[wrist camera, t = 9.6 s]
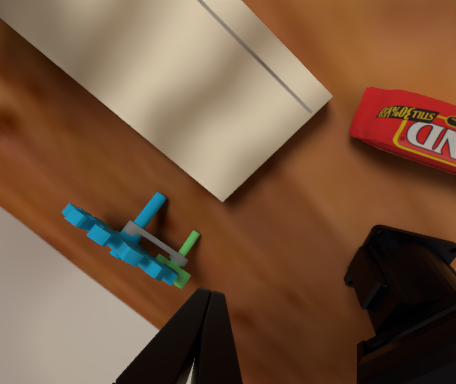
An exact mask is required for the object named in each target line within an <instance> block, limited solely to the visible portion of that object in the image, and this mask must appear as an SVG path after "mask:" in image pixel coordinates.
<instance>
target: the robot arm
mask: <svg viewBox="0 0 456 384" xmlns="http://www.w3.org/2000/svg"><path fill="white" fill-rule="evenodd" d="M379 230H382V231H381V232H379V233H377V232H378V231H379ZM451 248H453V249H451ZM450 249H451V250H450ZM455 257H456V243H454V242H451V241H447V240H442V239H438V238H434V237H430V236H426V235H422V234H417V233H413V232H409V231H405V230H401V229H397V228H393V227H388V226H384V225H376V226H374V227H373V228H372V230H371V232H370V233H369V235H368V237H367V239H366V240H365V242H364V244H363V246H361V247H360V248H359V250H358V251H357V253H356V255H355V257H354V258H353V260H352V262H351V264H350V266H349V267H348V272H347V274H346V276H345V277H344V281H345V284H346V285H347V286H349V287H353V288H355V291H356V294H357V297H358V300H359V303H360V306H361V307H362V309H363V310H366V311H367V312H368V315H369V317H370V320H371V323H372V326H373V329H374V331H375V334H376V336H374V337H372V338H371V339H369V340H367V341H362V342H360V343H358V344H357V384H456V271H455V270H454V269H453V268H452V267H451V265H450V264H451V262H452V261H453V260H454V259H455ZM350 280H352V281H350ZM194 359H195V361H194ZM193 363H194V366H193ZM192 366H193V372H192V378H191V384H243V382H242V377H241V372H240V367H239V362H238V358H237V353H236V348H235V343H234V338H233V333H232V328H231V323H230V318H229V313H228V308H227V304H226V299H225V295H224V294H223V293H220V292H217V291H212V292H211V291H210V290H209V289H205V288H201V287H200V288H198V289H197V290H196V291H195V292H194V293H193V294H192V295H191V297H190V298H189V299H188V300H187V301H186V302H185V303H184V304H183V305H182V307H181V308H180V309H179V310H178V311H177V312H176V313H175V314H174V315H173V317H172V318H171V319H170V320H169V321H168V322H167V323H166V324H165V326H164V327H163V328H162V329H161V330H160V331H159V332H158V334H156V336H155V337H154V338H153V339H152V340H151V341H150V342H149V343H148V345H147V346H146V347H145V348H144V349H143V350H142V351H141V352H140V354H139V355H138V356H137V357H136V358H135V359H134V360H133V361H132V362H131V363H130V365H129V366H128V367H127V368H126V369H125V370H124V371H123V372H122V374H121V375H120V376H119V377H118V378H117V379H116V383H112V384H186V382H187V380H188V377H189V374H190V371H191V368H192Z"/></svg>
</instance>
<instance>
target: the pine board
mask: <svg viewBox="0 0 456 384" xmlns="http://www.w3.org/2000/svg"><path fill="white" fill-rule="evenodd" d="M0 18H1V19H2V20H3V21H4V22H6V23H7V24H8V25H9V26H10V27H12V28H13V29H14V30H15V31H16V32H18V33H19V34H20V35H21V36H22V37H24V38H25V39H26V40H27V41H28V42H30V43H31V44H32V45H33V46H35V47H36V48H37V49H38V50H39V51H41V52H42V53H43V54H44V55H45V56H47V57H48V58H49V59H50V60H51V61H53V62H54V63H55V64H56V65H57V66H59V67H60V68H61V69H62V70H64V71H65V72H66V73H67V74H68V75H70V76H71V77H72V78H73V79H74V80H76V81H77V82H78V83H79V84H80V85H82V86H83V87H84V88H85V89H86V90H88V91H89V92H90V93H91V94H92V95H94V96H95V97H96V98H97V99H99V100H100V101H101V102H102V103H103V104H105V105H106V106H107V107H108V108H109V109H111V110H112V111H113V112H114V113H115V114H117V115H118V116H119V117H120V118H121V119H123V120H124V121H125V122H126V123H127V124H129V125H130V126H131V127H132V128H134V129H135V130H136V131H137V132H138V133H140V134H141V135H142V136H143V137H144V138H146V139H147V140H148V141H149V142H150V143H152V144H153V145H154V146H155V147H156V148H158V149H159V150H160V151H161V152H163V153H164V154H165V155H166V156H167V157H169V158H170V159H171V160H172V161H173V162H175V163H176V164H177V165H178V166H179V167H181V168H182V169H183V170H184V171H185V172H187V173H188V174H189V175H190V176H191V177H193V178H194V179H195V180H196V181H198V182H199V183H200V184H201V185H202V186H204V187H205V188H206V189H207V190H208V191H210V192H211V193H212V194H213V195H214V196H216V197H217V198H218V199H219V200H220V201H222V202H223V201H224V200H225V199H226V198H228V197H229V196H230V195H231V194H232V193H233V192H234V191H235V190H236V189H237V188H238V187H239V186H240V185H241V184H242V183H243V182H244V181H245V180H246V179H247V178H248V177H249V176H250V175H252V174H253V173H254V172H255V171H256V170H257V169H258V168H259V167H260V166H261V165H262V164H263V163H264V162H265V161H266V160H267V159H268V158H269V157H270V156H271V155H272V154H273V153H274V152H276V151H277V150H278V149H279V148H280V147H281V146H282V145H283V144H284V143H285V142H286V141H287V140H288V139H289V138H290V137H291V136H292V135H293V134H294V133H295V132H296V131H297V130H298V129H300V128H301V127H302V126H303V125H304V124H305V123H306V122H307V121H308V120H309V119H310V118H311V117H312V116H313V115H314V114H315V113H316V112H317V111H318V110H319V109H320V108H321V107H322V106H324V105H325V104H326V103H327V102H328V101H329V100H330V99H331V98H332V97H333V96H332V95H331V94H330V93H329V92H328V91H327V90H326V89H325V88H324V86H323V85H322V84H321V83H320V82H319V81H318V80H317V79H316V78H315V77H314V76H313V75H312V74H311V73H310V72H309V71H308V70H307V69H306V68H305V67H304V65H303V64H302V63H301V62H300V61H299V60H298V59H297V58H296V57H295V56H294V55H293V54H292V53H291V52H290V51H289V50H288V49H287V48H286V47H285V46H284V45H283V43H282V42H281V41H280V40H279V39H278V38H277V37H276V36H275V35H274V34H273V33H272V32H271V31H270V30H269V29H268V28H267V27H266V26H265V25H264V24H263V22H262V21H261V20H260V19H259V18H258V17H257V16H256V15H255V14H254V13H253V12H252V11H251V10H250V9H249V8H248V7H247V6H246V5H245V4H244V3H243V1H242V0H0Z"/></svg>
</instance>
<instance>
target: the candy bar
mask: <svg viewBox="0 0 456 384" xmlns="http://www.w3.org/2000/svg"><path fill="white" fill-rule="evenodd" d="M350 135H351V136H352V137H355V138H358V139H360V140H362V141H363V142H364V143H366V144H368V145H371V146H373V147H375V148H377V149H379V150H382V151H385V152H388V153H391V154H394V155H396V156H399V157H402V158H405V159H408V160H411V161H414V162H417V163H420V164H423V165H426V166H429V167H432V168H435V169H438V170H441V171H444V172H447V173H450V174H453V175H456V106H455V105H452V104H449V103H446V102H443V101H440V100H436V99H433V98H430V97H427V96H423V95H420V94H417V93H412V92H408V91H404V90H383V89H378V88H374V87H369V88H367V89H366V90H365V92H364V94H363V98H362V101H361V103H360V105H359V107H358V109H357V111H356V114H355V116H354V118H353V120H352V124H351V127H350Z"/></svg>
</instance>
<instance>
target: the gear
mask: <svg viewBox="0 0 456 384" xmlns="http://www.w3.org/2000/svg"><path fill="white" fill-rule="evenodd" d="M166 200H167V199H166V198H165V197H164V196H163V195H162V194H160V193H158V192H156V194H155V195H154V196H153V198H152V199H151V200H150V201H149V203H148V204H147V205H146V207H145V208H144V209H143V210H142V212H141V213H140V214H139V216H138V217H137V218H136V219H135V221H134V222H132V221H129V222H128V223H127V224H126V226H125V227H124V228H123V230H122V231H121V232H119V231H117V230H114V229H112V228H111V227H109V226H108V225H107V224H106V223H104V222H103V221H101V220H100V219H98V218H96V217H93V216H92V215H90V214H89V213H87V212H86V211H84V210H83V209H81V208H79V207H78V208H77V207H76V206H74V205H72V204H71V203H69V204H68V205H67V207H66V208H65V209H64V210H63V211H62V213H63V214H64V215H65V216H66V217H65V219H66V220H68V221H69V222H70V223H72V224H73V225H74V226H76V227H78V228H80V229H85V230H87V231H88V234H87V236H88V237H89V238H91V239H92V240H94V241H95V242H97V243H98V244H100V245H102V246H104V247H105V246H106V245H108V246H109V247H110V248H112V250H111V251H110V254H111V255H113V256H114V257H116V258H118V259H120V260H121V259H122V260H124V261H125V262H127V263H129V264H130V265H132V266H134V267H137V265H138V266H139V267H140V268H142V269H143V270H144V271H145V272H146V273H148V274H149V275H150V276H152V277H153V278H154V279H157V280H159V281H161V280H163V281H165V282H166V283H168V284H169V285H171V286H172V284H174V285H176V286H177V287H179V288H180V289H183V287H184V286H185V284H186V283H187V281H188V280H189V278H190V276H191V275H190V274H189V273H187V272H186V271H184V270H183V269H181V268H180V267H181V266H182V267H185V266H186V264H187V263H188V261H189V260H187V259H186V258H185V256H186V255H187V253H188V252H189V250H190V249H191V247H192V246H193V245H194V243H195V242H196V240H197V239H198V237H199V236H200V234H199V233H197V232H196V231H194V230H193V231H192V233H191V234H190V236H189V237H188V239H187V240H186V242H185V243H184V244H183V246H182V247H181V249H180V250H179V252H178V253H177V252H176V251H174V250H173V249H171V248H170V247H168V246H167V245H165V244H164V243H162V242H161V241H160V240H158V239H157V238H155V237H154V236H152V235H151V234H149V233H148V232H146V231H145V230H144V229H145V227H146V226H147V225H148V223H149V222H150V221H151V219H152V218H153V217H154V215H155V214H156V213H157V211H158V210H159V209H160V207H161V206H162V205H163V204H164V202H165V201H166ZM143 236H144V237H146V238H147V239H149V240H150V241H152V242H153V243H154V244H156V245H157V246H159V247H160V248H162V249H163V250H165V251H166V252H168V253H169V254H170V256H169V258H170V259H171V261H169V260H168V259H167V258H165V257H164V256H162V255H161V254H158V255H157V257H155V256H154V257H153V256H152V255H150V254H149V253H147V252H148V251H147V250H145V249H144V248H142V247H141V246H140V245H138V243H139V242H140V240H141V239H142V238H143ZM166 265H167V266H166ZM168 266H169V267H170V268H169V267H168ZM171 268H172V269H173V270H172V269H171ZM174 270H175V271H176V272H178V274H177V273H176V272H175V271H174Z"/></svg>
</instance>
